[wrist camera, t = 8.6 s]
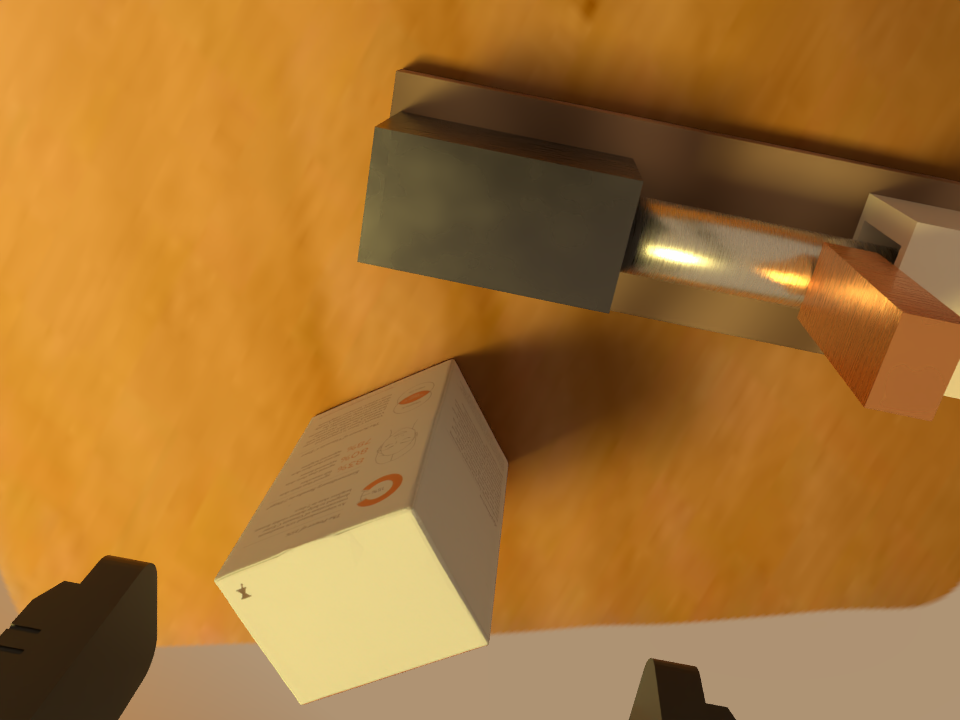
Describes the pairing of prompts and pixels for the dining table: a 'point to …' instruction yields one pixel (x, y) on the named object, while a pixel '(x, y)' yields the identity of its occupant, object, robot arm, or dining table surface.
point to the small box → (375, 539)
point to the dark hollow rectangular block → (498, 210)
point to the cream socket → (919, 249)
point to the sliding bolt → (813, 296)
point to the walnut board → (691, 188)
